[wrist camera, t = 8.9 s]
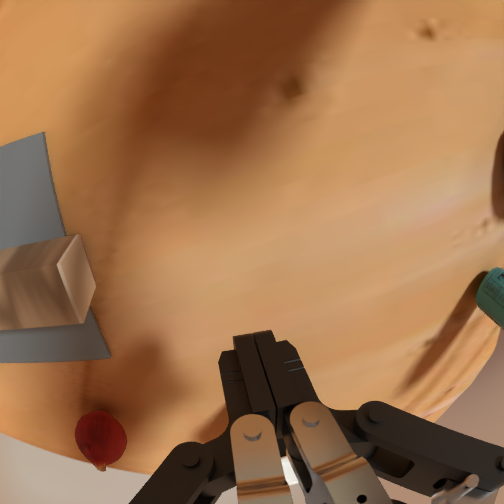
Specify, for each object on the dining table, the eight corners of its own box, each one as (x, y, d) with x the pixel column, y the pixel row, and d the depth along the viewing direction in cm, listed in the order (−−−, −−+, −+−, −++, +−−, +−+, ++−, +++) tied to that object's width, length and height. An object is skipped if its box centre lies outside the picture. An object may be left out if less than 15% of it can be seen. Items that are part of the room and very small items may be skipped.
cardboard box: (79, 233, 20) (-24, 255, 18) (60, 263, 16) (-50, 283, 14) (96, 286, 22) (-5, 300, 20) (83, 323, 18) (-26, 331, 16)
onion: (86, 422, 30) (80, 477, 23) (73, 394, 27) (63, 455, 20) (131, 425, 31) (130, 482, 24) (123, 398, 29) (119, 461, 22)
